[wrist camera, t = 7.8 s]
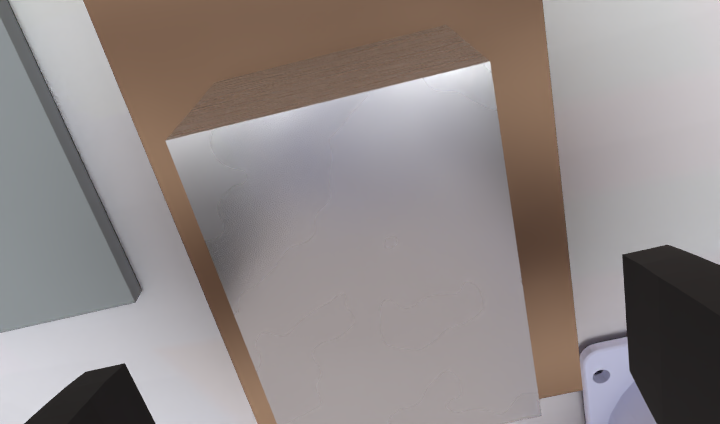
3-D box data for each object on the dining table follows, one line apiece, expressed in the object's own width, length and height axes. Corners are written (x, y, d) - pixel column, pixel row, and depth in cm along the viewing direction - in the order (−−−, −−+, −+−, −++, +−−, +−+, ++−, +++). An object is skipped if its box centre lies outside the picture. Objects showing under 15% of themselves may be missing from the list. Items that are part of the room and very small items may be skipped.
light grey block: (493, 301, 15) (541, 415, 12) (304, 342, 16) (293, 465, 12) (446, 24, 12) (490, 61, 9) (215, 82, 13) (165, 140, 9)
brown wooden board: (559, 345, 18) (582, 390, 17) (276, 404, 19) (270, 453, 17) (423, -773, 9) (443, -944, 8) (-108, -588, 10) (-208, -705, 8)
